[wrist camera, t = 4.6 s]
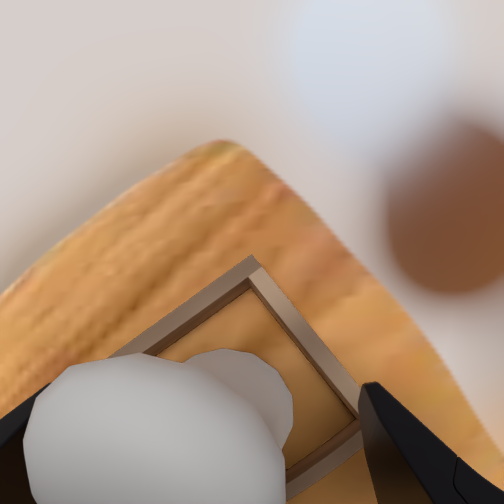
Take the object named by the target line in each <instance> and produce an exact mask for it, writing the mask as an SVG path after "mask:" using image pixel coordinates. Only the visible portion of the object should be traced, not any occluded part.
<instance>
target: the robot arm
mask: <svg viewBox="0 0 504 504" xmlns="http://www.w3.org/2000/svg"><path fill="white" fill-rule="evenodd" d="M51 383H52V382H51ZM51 383H48V384H47V385H46V386H44V387H43V388H42V389H40V390H39V391H38V392H36V393H35V394H34V395H32V396H31V397H29V398H28V399H27V400H25V401H24V402H23V403H21V404H20V405H19V406H17V407H16V408H15V409H13V410H12V411H11V412H9V413H8V414H7V415H6V416H4V417H3V418H2V419H0V504H37V503H36V501H35V499H34V497H33V495H32V493H31V488H30V483H29V478H28V473H27V467H26V461H25V455H24V446H23V439H24V435H25V432H26V428H27V425H28V422H29V418H30V415H31V412H32V409H33V406H34V403H35V400H36V397H37V396H38V395H39V394H40V393H41V392H43V391H44V390H45V389H46V388H47V387H48V386H49V385H50V384H51ZM358 413H359V419H360V425H361V431H362V438H363V445H364V451H365V456H366V460H367V464H368V467H369V471H370V475H371V479H372V482H373V486H374V490H375V494H376V498H377V501H378V504H504V491H502V490H501V489H499V488H498V487H496V486H495V485H493V484H492V483H490V482H489V481H488V480H486V479H485V478H484V477H482V476H481V475H480V474H478V473H477V472H476V471H475V470H474V469H472V468H471V467H470V466H469V465H468V464H467V463H465V462H464V461H463V460H462V459H461V458H460V457H457V455H456V454H455V453H454V452H453V451H452V450H451V449H450V448H449V447H448V446H447V445H446V444H444V443H443V442H442V441H441V440H440V439H439V438H438V437H437V436H436V435H435V434H434V433H432V432H431V431H430V430H429V429H428V428H427V427H426V426H425V425H424V424H423V423H422V422H420V421H419V420H418V419H417V418H416V417H415V416H414V415H413V414H412V413H411V412H410V411H409V410H407V409H406V408H405V407H404V406H403V405H402V404H401V403H400V402H399V401H398V400H397V399H396V398H394V397H393V396H392V395H391V394H390V393H389V392H388V391H387V390H386V389H385V388H384V387H383V386H381V385H380V384H379V383H378V382H369V383H364V384H363V385H362V387H361V391H360V395H359V399H358Z"/></svg>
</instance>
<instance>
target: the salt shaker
mask: <svg viewBox="0 0 504 504" xmlns="http://www.w3.org/2000/svg"><path fill="white" fill-rule="evenodd" d="M292 426H293V401H292V395H291V393H290V391H289V390H288V388H287V386H286V385H285V383H284V381H283V379H282V378H281V376H280V374H279V372H278V371H277V370H276V369H274V368H273V367H271V366H270V365H268V364H267V363H266V362H264V361H263V360H261V359H260V358H258V357H257V356H256V355H254V354H253V353H247V352H241V351H236V350H230V349H225V348H222V349H218V350H214V351H210V352H206V353H201V354H197V355H194V356H193V357H191V358H190V359H188V360H186V361H185V362H183V363H179V362H175V361H171V360H167V359H163V358H159V357H155V356H151V355H147V354H143V353H135V354H130V355H125V356H119V357H114V358H109V359H103V360H98V361H92V362H87V363H82V364H78V365H73V366H69V367H68V368H67V369H66V370H65V371H64V372H63V373H62V374H61V375H60V376H59V377H57V378H56V379H55V380H54V381H53V382H52V383H51V384H50V385H49V386H48V387H47V388H46V389H45V390H44V391H43V392H41V393H40V394H39V395H38V396H37V397H36V400H35V403H34V406H33V409H32V412H31V415H30V418H29V422H28V425H27V428H26V432H25V435H24V439H23V446H24V455H25V461H26V467H27V473H28V478H29V483H30V488H31V493H32V495H33V497H34V499H35V501H36V503H37V504H286V488H285V459H284V456H283V453H282V448H283V446H284V444H285V442H286V440H287V437H288V435H289V433H290V431H291V429H292Z"/></svg>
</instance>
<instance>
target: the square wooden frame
mask: <svg viewBox="0 0 504 504" xmlns="http://www.w3.org/2000/svg"><path fill="white" fill-rule="evenodd" d="M250 287H251V288H252V290H253V291H254V292H255V293H256V295H257V296H258V297H259V298H260V300H261V301H262V302H263V304H264V305H265V306H266V307H267V309H268V310H269V311H270V312H271V314H272V315H273V316H274V317H275V319H276V320H277V321H278V323H279V324H280V325H281V326H282V328H283V329H284V330H285V331H286V333H287V334H288V335H289V336H290V338H291V339H292V340H293V341H294V343H295V344H296V345H297V346H298V348H299V349H300V350H301V351H302V353H303V354H304V355H305V356H306V358H307V359H308V360H309V361H310V363H311V364H312V365H313V366H314V367H315V369H316V370H317V371H318V372H319V374H320V375H321V376H322V377H323V379H324V380H325V381H326V382H327V384H328V385H329V386H330V387H331V388H332V390H333V391H334V392H335V393H336V395H337V396H338V397H339V398H340V399H341V401H342V402H343V403H344V404H345V405H346V407H347V408H348V409H349V410H350V412H351V413H352V414H353V415H354V416H355V418H356V419H355V420H354V421H353V422H351V423H350V424H349V425H348V426H346V427H345V428H344V429H343V430H341V431H340V432H339V433H338V434H336V435H335V436H334V437H333V438H331V439H330V440H329V441H327V442H326V443H325V444H323V445H322V446H321V447H319V448H318V449H317V450H315V451H314V452H312V453H311V454H310V455H308V456H307V457H305V458H304V459H303V460H301V461H300V462H298V463H297V464H295V465H294V466H292V467H291V468H289V469H288V470H286V471H285V488H286V501H288V500H290V499H291V498H293V497H294V496H296V495H298V494H299V493H301V492H302V491H304V490H305V489H307V488H308V487H310V486H311V485H313V484H314V483H316V482H317V481H319V480H320V479H322V478H323V477H324V476H326V475H327V474H329V473H330V472H331V471H333V470H334V469H336V468H337V467H338V466H340V465H341V464H342V463H344V462H345V461H346V460H347V459H349V458H350V457H351V456H353V455H354V454H355V453H356V452H358V451H359V450H360V449H361V448H363V447H364V445H363V438H362V431H361V425H360V419H359V413H358V399H359V395H360V391H361V388H360V387H359V386H358V385H357V383H356V382H355V381H354V380H353V378H352V377H351V376H350V375H349V374H348V372H347V371H346V370H345V369H344V367H343V366H342V365H341V364H340V362H339V361H338V360H337V359H336V358H335V356H334V355H333V354H332V353H331V351H330V350H329V349H328V348H327V346H326V345H325V344H324V343H323V341H322V340H321V339H320V338H319V337H318V335H317V334H316V333H315V332H314V330H313V329H312V328H311V327H310V325H309V324H308V323H307V322H306V321H305V319H304V318H303V317H302V316H301V314H300V313H299V312H298V311H297V309H296V308H295V307H294V306H293V304H292V303H291V302H290V301H289V300H288V298H287V297H286V296H285V295H284V293H283V292H282V291H281V290H280V288H279V287H278V286H277V285H276V283H275V282H274V281H273V280H272V279H271V277H270V276H269V275H268V274H267V272H266V271H265V270H264V269H263V267H262V266H261V265H260V264H259V262H258V261H257V260H256V259H255V258H254V256H253V255H252V254H251V255H250V256H248V257H247V258H246V259H244V260H243V261H241V262H240V263H239V264H237V265H236V266H234V267H233V268H232V269H230V270H229V271H228V272H226V273H225V274H223V275H222V276H221V277H219V278H218V279H216V280H215V281H214V282H212V283H211V284H209V285H208V286H207V287H205V288H204V289H203V290H201V291H200V292H198V293H197V294H196V295H194V296H193V297H191V298H190V299H189V300H187V301H186V302H184V303H183V304H182V305H180V306H179V307H178V308H176V309H175V310H173V311H172V312H171V313H169V314H168V315H166V316H165V317H164V318H162V319H161V320H159V321H158V322H157V323H155V324H154V325H153V326H151V327H150V328H148V329H147V330H146V331H144V332H143V333H141V334H140V335H139V336H137V337H136V338H134V339H133V340H132V341H130V342H129V343H127V344H126V345H125V346H123V347H122V348H121V349H119V350H118V351H116V352H115V353H114V354H112V355H111V356H109V357H108V358H107V359H109V358H114V357H119V356H125V355H130V354H135V353H143V354H147V355H151V356H156V355H157V354H159V353H160V352H161V351H163V350H164V349H166V348H167V347H169V346H170V345H171V344H173V343H174V342H176V341H177V340H178V339H180V338H181V337H183V336H184V335H186V334H187V333H188V332H190V331H191V330H193V329H194V328H195V327H197V326H198V325H200V324H201V323H202V322H204V321H205V320H206V319H208V318H209V317H211V316H212V315H213V314H215V313H216V312H218V311H219V310H220V309H222V308H223V307H224V306H226V305H227V304H229V303H230V302H231V301H233V300H234V299H235V298H237V297H238V296H240V295H241V294H242V293H244V292H245V291H246V290H248V289H249V288H250Z"/></svg>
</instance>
